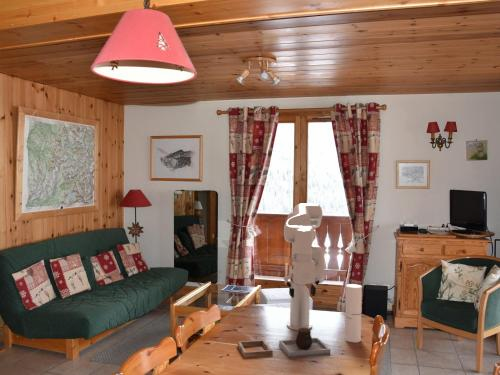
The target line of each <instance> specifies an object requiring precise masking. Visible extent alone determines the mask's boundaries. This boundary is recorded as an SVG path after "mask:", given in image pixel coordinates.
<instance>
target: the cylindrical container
mask: <svg viewBox="0 0 500 375" xmlns="http://www.w3.org/2000/svg"><path fill="white" fill-rule="evenodd" d="M362 291H363V285H360V284H355V283H347V284H345V311H344V312H345V315H344V316H345V318H344V319H345V320H344V340H345V341H346V342H349V343H359V342H361V341H362V340H361V337H362V303H363V302H362V300H363V298H362V296H363V295H362V294H363V292H362Z"/></svg>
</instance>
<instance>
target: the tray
mask: <svg viewBox="0 0 500 375" xmlns="http://www.w3.org/2000/svg"><path fill="white" fill-rule="evenodd" d="M311 338H312V345H311V347H310V348H309V349H307V350H302V349H299V348H298V347H297V345H296V338H295V339H281V340H279V341H278V343H279V344H278V346H279V348H280V349H281V350H282V351H283V353H285V355H286V356H287V358H289V359H299V358H313V357H321V356H323V357H324V356H331V348H330V347H328V346H327V345H326V344H325V343H324V342H323V340H321V339H320V338H319V337H311Z"/></svg>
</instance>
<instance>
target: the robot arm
mask: <svg viewBox="0 0 500 375" xmlns="http://www.w3.org/2000/svg"><path fill="white" fill-rule="evenodd" d="M292 210H293V211H292V212H289V214H288V215H287V220H286V222H284V226H283V237H284V240H285V242H286V243H291V245H292V246H291V247H292V248H291V259H292V263H291V265H290V266H289V270H288V275H286V276H284V277H283V281H284V283H285V284H286V285H287V286H288V287H289V288H288V289H289V290H288V295H289V296H290V306H289V309H290V312H289V318H290V319H289V321H288V322H287V324H286V327H287V328H288V329H291V330H292V331H293V330H294V331H298V329H299V328H308V329H310V328H311V329H313V324H312V323H311V322H310V304H311V303H310V299H311V298H310V297H311V296H313V297H315V296H316V293H317V292H316V291H317V290H316V289H317V287H318V285H319V284H323V282H324V281H325V276H326V274H325V270H326V269H325V257H324V256H325V255H324V250H323V248H322V246H321V245H318V244H313V242H314V241H315V240H316V238H317V237H316V236H317V232H316V229H317V228H319V227H320V226H321V224H322V220H323V210H322V207H321V205H320V204H318V203H299V204H296V205H295V206H294V207H293V209H292ZM306 285H310V290H309V287H308V286H306ZM310 295H311V296H310ZM311 329H310V330H311Z"/></svg>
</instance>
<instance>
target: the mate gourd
mask: <svg viewBox="0 0 500 375" xmlns="http://www.w3.org/2000/svg"><path fill="white" fill-rule="evenodd" d="M311 330H312V328H310V329H308V328H299V329H298V330H297V335H296V337H295V339H296V345H297V347H298V348H299V349H302V350H307V349H309V348H310V347H311V345H312V338H313V337H312V336H311V335H312V334H311V332H312V331H311Z"/></svg>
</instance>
